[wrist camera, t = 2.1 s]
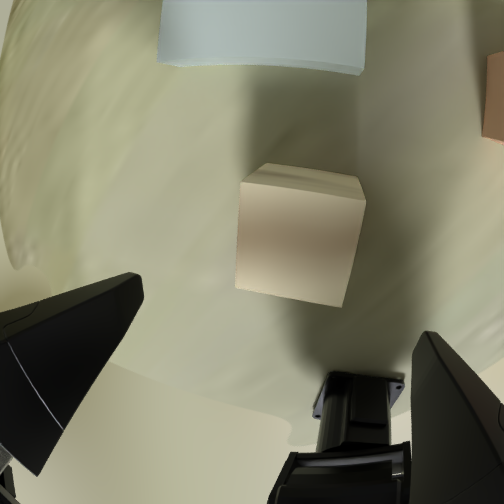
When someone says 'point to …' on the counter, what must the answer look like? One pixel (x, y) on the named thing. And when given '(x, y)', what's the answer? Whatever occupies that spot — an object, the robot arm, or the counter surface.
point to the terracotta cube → (494, 99)
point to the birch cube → (298, 232)
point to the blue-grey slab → (265, 33)
